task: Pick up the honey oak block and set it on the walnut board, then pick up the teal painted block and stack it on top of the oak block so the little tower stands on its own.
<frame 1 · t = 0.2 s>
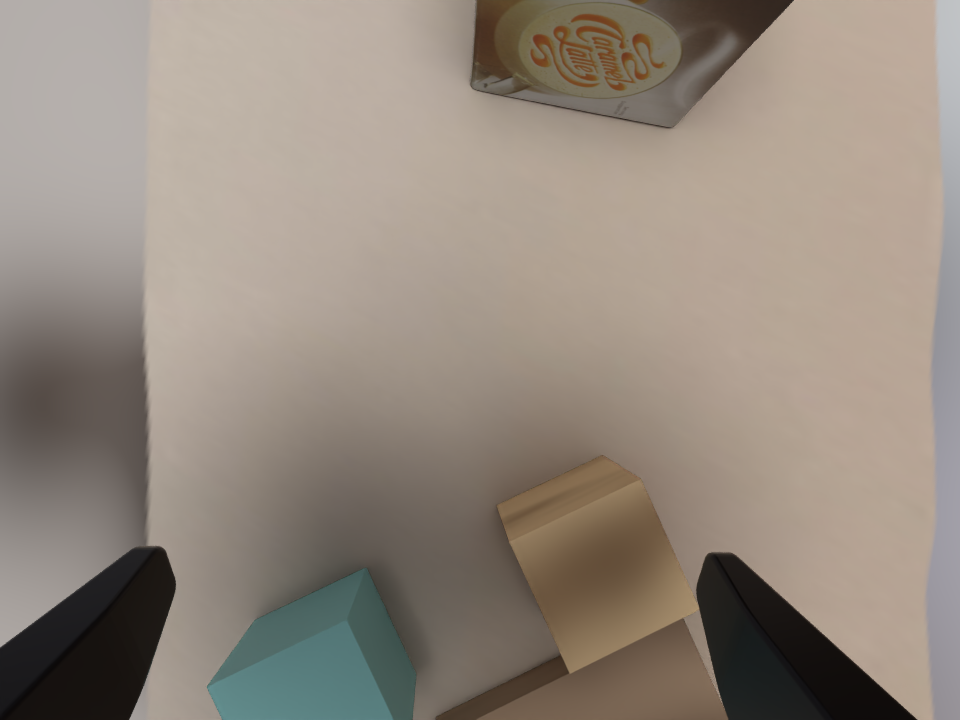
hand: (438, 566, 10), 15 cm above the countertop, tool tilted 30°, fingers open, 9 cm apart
oak block: (573, 532, 25), on the countertop
teal block: (336, 646, 24), on the countertop
coffee box: (579, 41, 25), on the countertop
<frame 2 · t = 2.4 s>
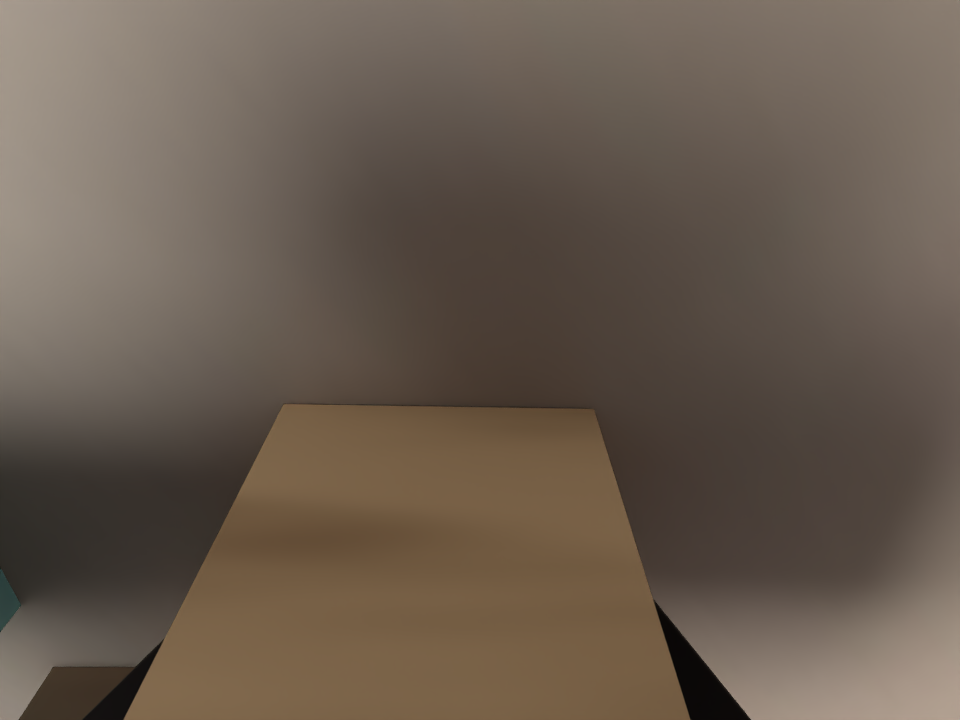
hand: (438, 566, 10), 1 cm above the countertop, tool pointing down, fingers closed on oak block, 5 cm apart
oak block: (440, 520, 11), on the countertop, touching gripper
when the fingers open (4 cm above the countertop, at t = 6.5 s): oak block drops 2 cm, point 1 cm above the countertop.
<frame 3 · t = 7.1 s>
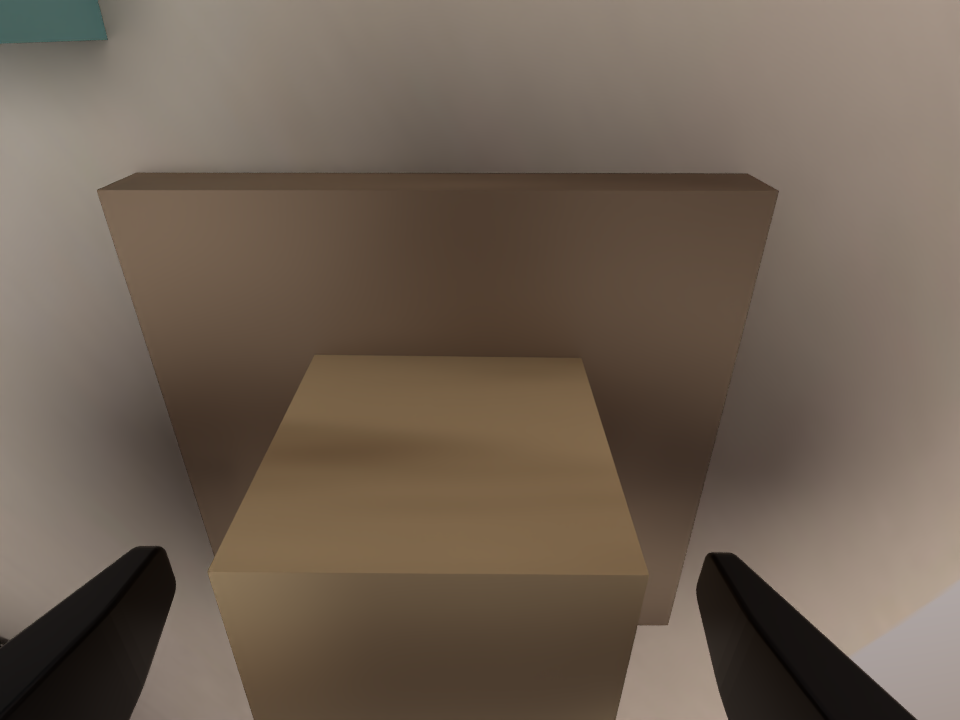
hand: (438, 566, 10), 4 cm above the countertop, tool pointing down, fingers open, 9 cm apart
oak block: (449, 460, 12), point 1 cm above the countertop
walnut board: (451, 403, 14), on the countertop
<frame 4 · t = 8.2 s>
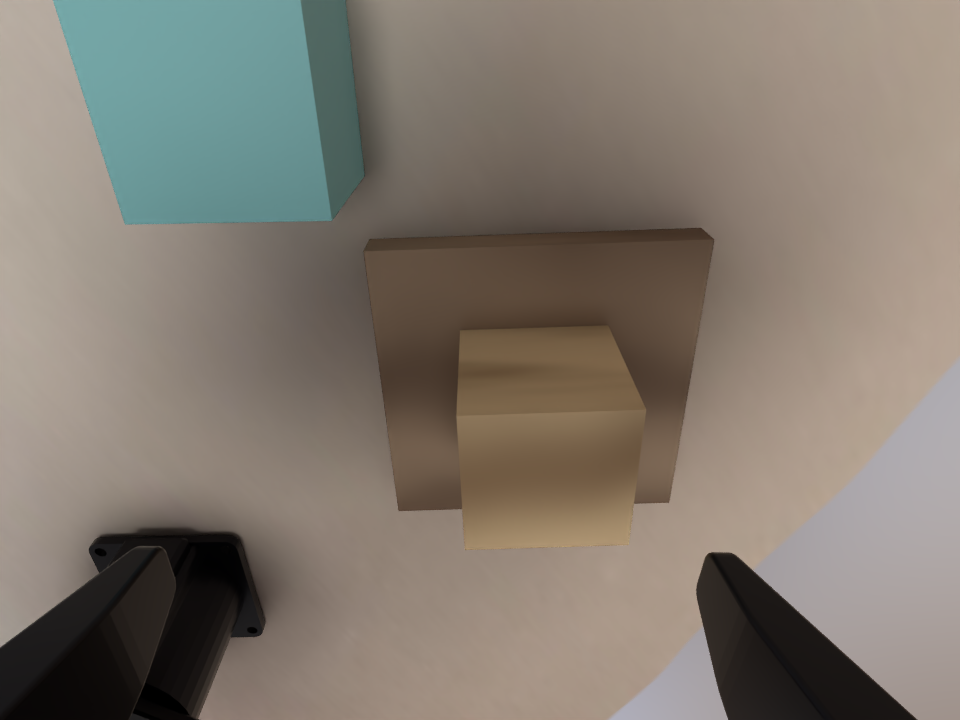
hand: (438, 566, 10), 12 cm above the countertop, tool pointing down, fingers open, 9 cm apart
oak block: (533, 390, 21), point 1 cm above the countertop
teal block: (270, 89, 17), on the countertop
walnut board: (530, 365, 23), on the countertop
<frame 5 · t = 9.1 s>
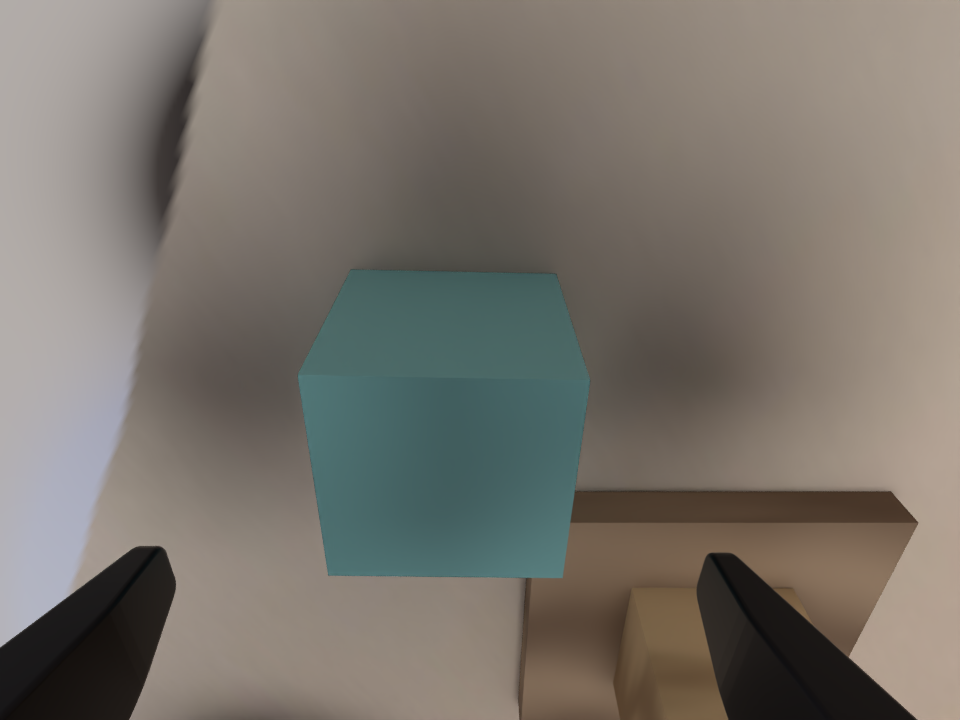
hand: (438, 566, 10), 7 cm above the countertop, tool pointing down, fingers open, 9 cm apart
oak block: (697, 638, 19), point 1 cm above the countertop, touching walnut board
teal block: (453, 358, 16), on the countertop
walnut board: (674, 592, 21), on the countertop, touching oak block
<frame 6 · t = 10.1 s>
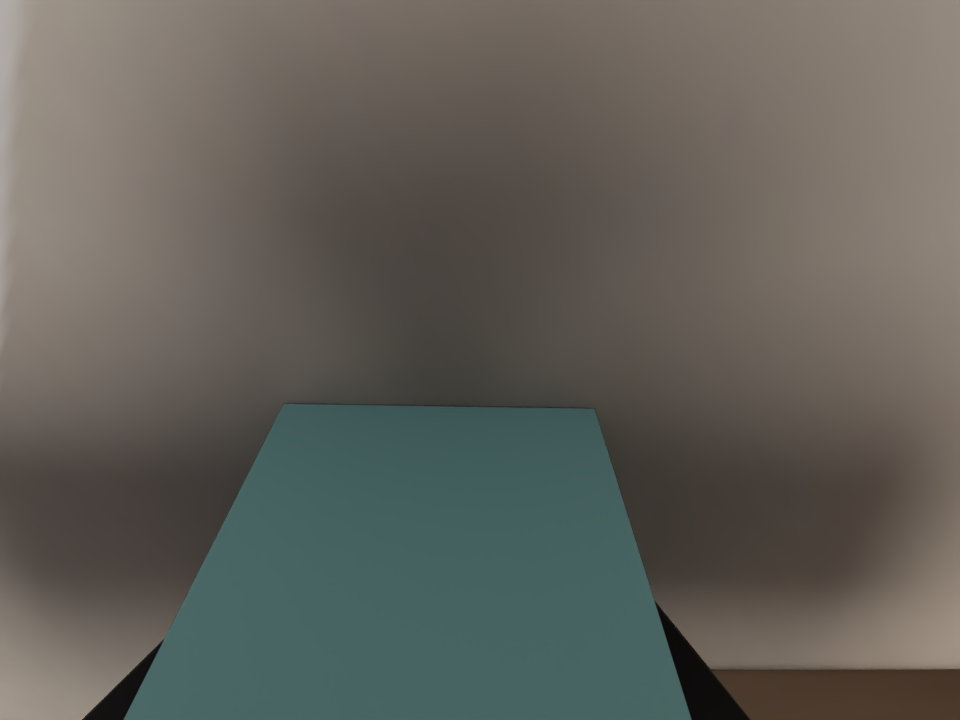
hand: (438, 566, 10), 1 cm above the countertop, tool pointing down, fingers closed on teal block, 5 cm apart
teal block: (441, 519, 11), on the countertop, touching gripper
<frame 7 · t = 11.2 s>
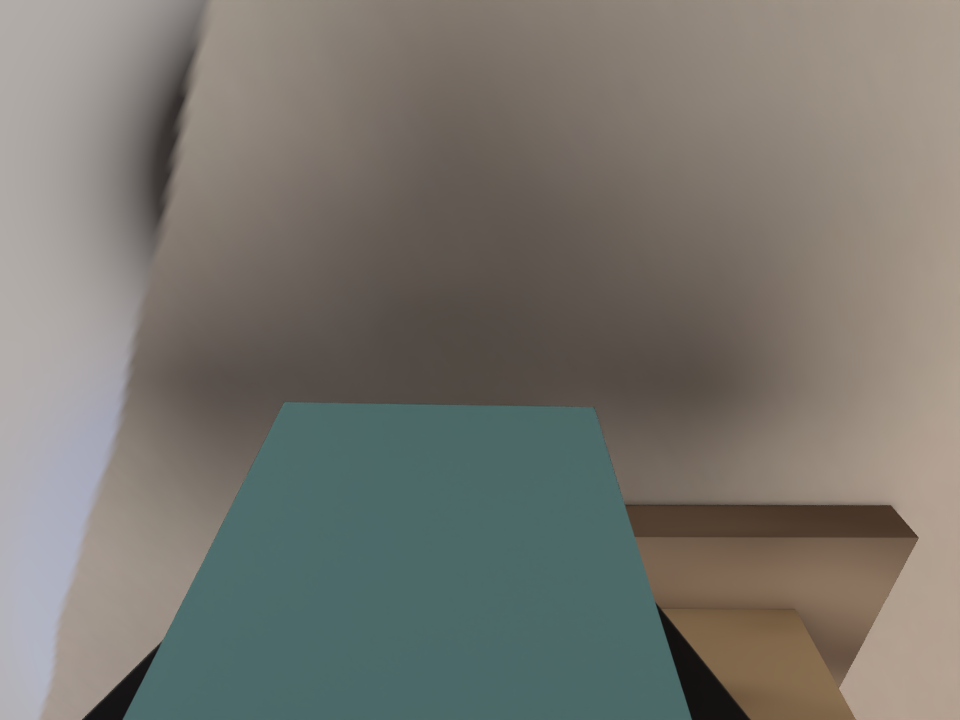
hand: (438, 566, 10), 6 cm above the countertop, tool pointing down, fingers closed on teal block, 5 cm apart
oak block: (698, 658, 19), point 1 cm above the countertop, touching walnut board
teal block: (441, 518, 11), point 5 cm above the countertop, touching gripper
walnut board: (672, 605, 21), on the countertop, touching oak block
when the fingers open (9 cm above the countertop, at t = 13.7 s): teal block drops 2 cm, resting on oak block.
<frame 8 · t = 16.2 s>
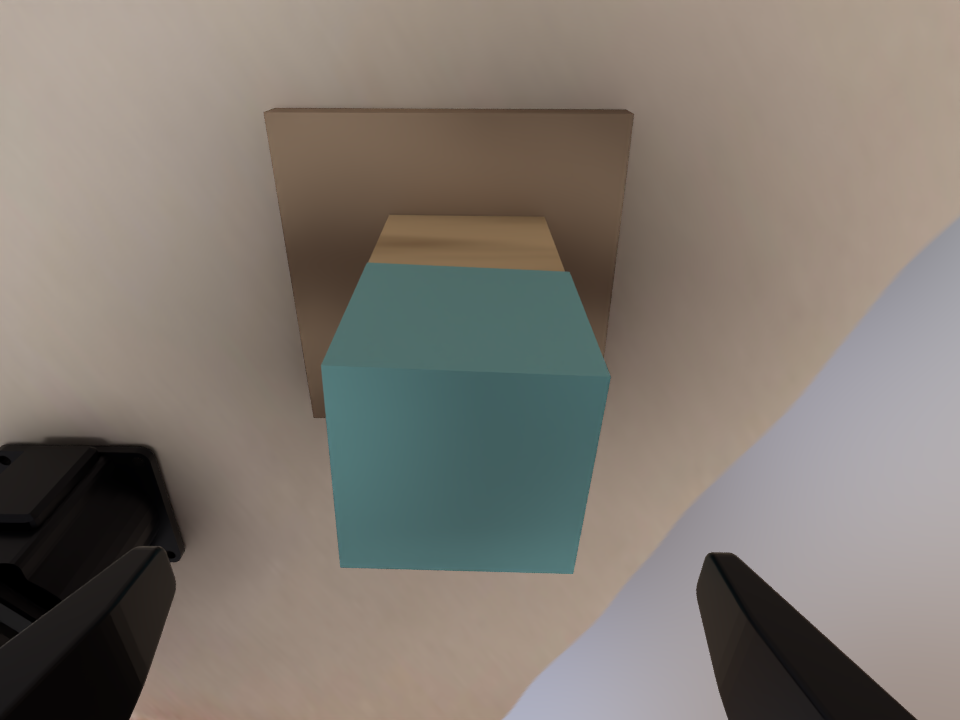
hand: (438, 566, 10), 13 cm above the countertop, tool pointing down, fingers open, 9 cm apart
oak block: (466, 287, 20), point 1 cm above the countertop, touching teal block, walnut board
teal block: (464, 355, 16), point 6 cm above the countertop, touching oak block
walnut board: (454, 265, 22), on the countertop, touching oak block
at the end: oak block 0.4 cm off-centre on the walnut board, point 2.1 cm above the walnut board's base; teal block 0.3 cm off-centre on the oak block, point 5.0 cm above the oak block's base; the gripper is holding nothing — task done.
